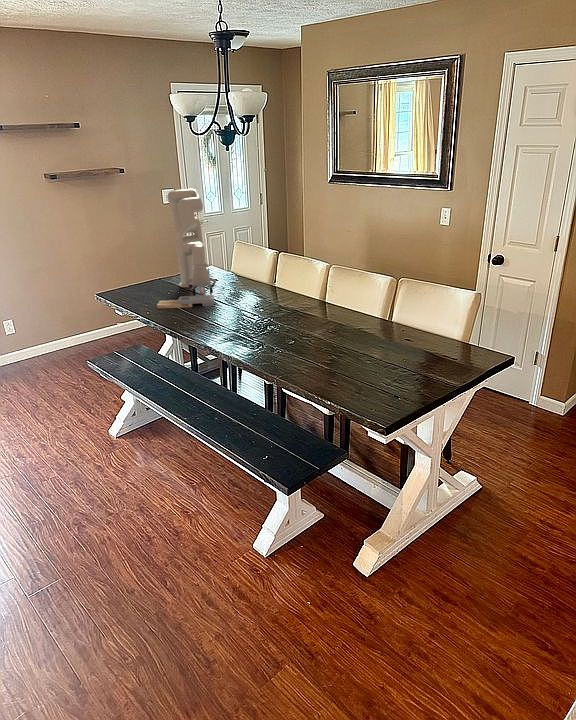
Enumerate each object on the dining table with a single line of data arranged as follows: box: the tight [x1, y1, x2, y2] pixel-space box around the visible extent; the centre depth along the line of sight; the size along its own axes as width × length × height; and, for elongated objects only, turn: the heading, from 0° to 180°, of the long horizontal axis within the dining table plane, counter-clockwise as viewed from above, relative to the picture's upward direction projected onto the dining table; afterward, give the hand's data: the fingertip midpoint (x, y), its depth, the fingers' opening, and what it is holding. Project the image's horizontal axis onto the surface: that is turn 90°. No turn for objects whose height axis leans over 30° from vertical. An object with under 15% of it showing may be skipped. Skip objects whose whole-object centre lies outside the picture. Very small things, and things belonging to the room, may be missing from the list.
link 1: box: [156, 299, 194, 310], centre depth 314 cm, size 8×20×2 cm, turn 91°
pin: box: [198, 286, 207, 296], centre depth 321 cm, size 3×3×9 cm
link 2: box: [177, 294, 215, 307], centre depth 314 cm, size 8×20×4 cm, turn 92°
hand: (203, 294), depth 321 cm, fingers open, 9 cm apart
